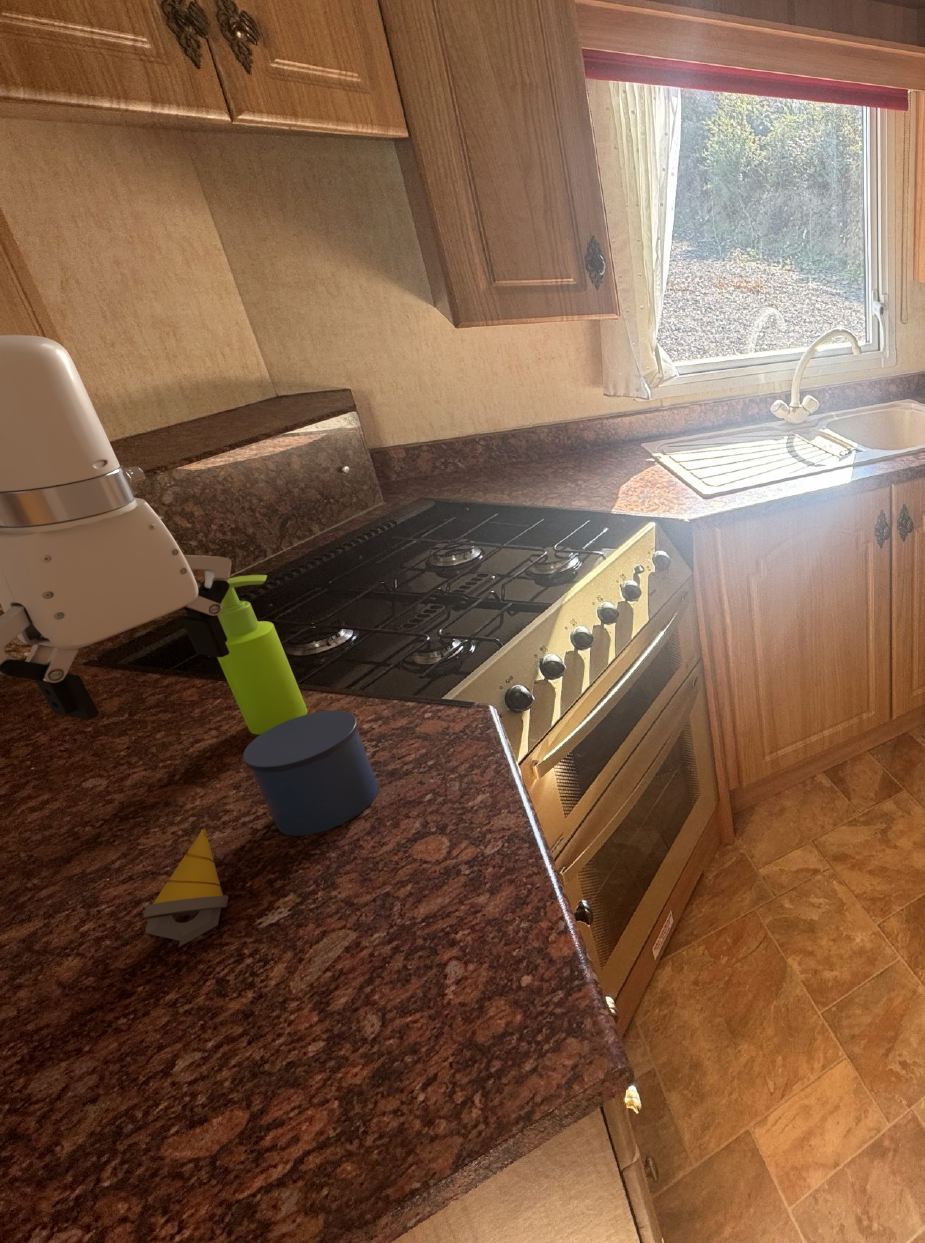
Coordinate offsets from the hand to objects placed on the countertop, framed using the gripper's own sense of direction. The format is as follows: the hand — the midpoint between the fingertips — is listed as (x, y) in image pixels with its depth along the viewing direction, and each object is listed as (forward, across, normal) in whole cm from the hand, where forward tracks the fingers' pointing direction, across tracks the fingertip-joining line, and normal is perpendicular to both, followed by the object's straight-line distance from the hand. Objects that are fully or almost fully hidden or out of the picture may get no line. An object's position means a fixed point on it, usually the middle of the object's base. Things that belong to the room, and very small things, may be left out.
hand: (152, 683), depth 64 cm
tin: (+22, -9, -1) cm, 24 cm away
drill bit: (+22, +5, +1) cm, 23 cm away
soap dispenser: (+22, -20, -22) cm, 37 cm away
